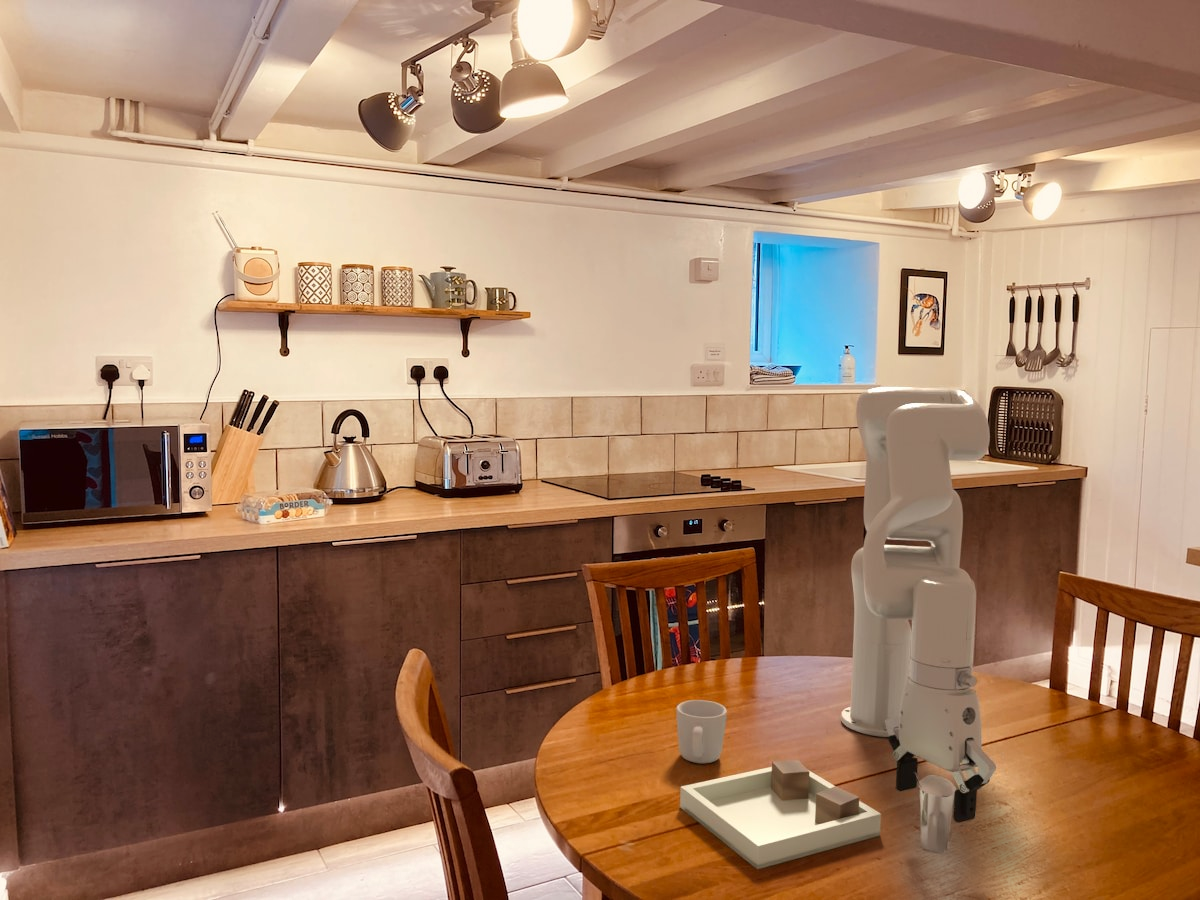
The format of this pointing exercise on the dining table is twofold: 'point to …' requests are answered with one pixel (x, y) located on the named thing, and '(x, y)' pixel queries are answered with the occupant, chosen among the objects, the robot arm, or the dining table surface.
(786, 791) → the walnut block
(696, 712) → the cup
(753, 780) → the tray
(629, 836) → the dining table surface
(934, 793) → the milkshake
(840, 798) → the walnut block
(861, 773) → the dining table surface
